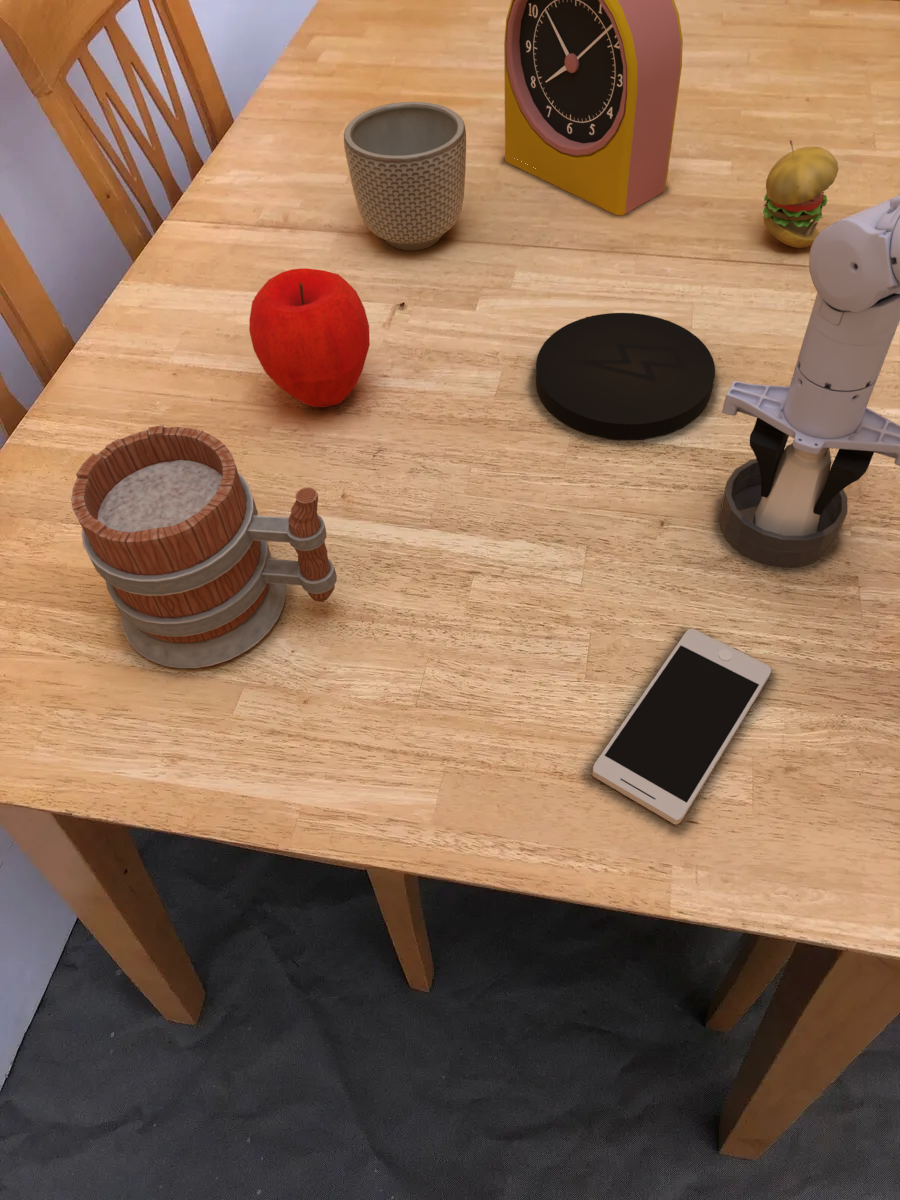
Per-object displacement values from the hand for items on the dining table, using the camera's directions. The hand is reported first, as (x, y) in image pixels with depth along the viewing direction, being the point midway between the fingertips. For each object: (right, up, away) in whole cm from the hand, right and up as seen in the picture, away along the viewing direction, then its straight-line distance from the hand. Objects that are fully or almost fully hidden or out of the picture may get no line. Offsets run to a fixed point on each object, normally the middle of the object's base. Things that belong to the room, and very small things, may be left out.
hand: (793, 497), depth 78 cm
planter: (-33, +36, +36) cm, 61 cm away
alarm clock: (-12, +47, +43) cm, 65 cm away
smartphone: (-11, -18, -8) cm, 23 cm away
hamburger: (+11, +33, +31) cm, 47 cm away
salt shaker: (0, -2, +3) cm, 4 cm away
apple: (-42, +12, +18) cm, 48 cm away
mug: (-47, -9, +1) cm, 48 cm away
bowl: (0, -2, +3) cm, 4 cm away
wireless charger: (-11, +14, +17) cm, 24 cm away
